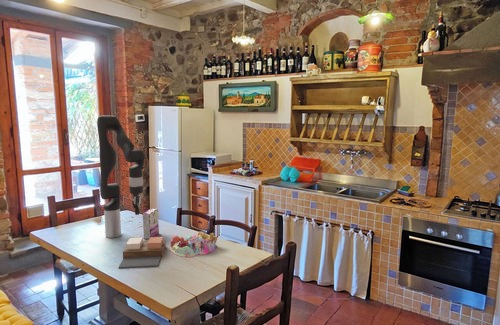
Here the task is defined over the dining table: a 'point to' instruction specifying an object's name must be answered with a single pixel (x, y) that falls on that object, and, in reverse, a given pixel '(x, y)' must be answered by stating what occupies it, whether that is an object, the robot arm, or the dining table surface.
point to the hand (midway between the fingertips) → (137, 214)
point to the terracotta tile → (155, 242)
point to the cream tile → (134, 243)
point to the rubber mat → (140, 262)
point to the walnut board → (144, 251)
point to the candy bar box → (150, 223)
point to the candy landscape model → (194, 245)
